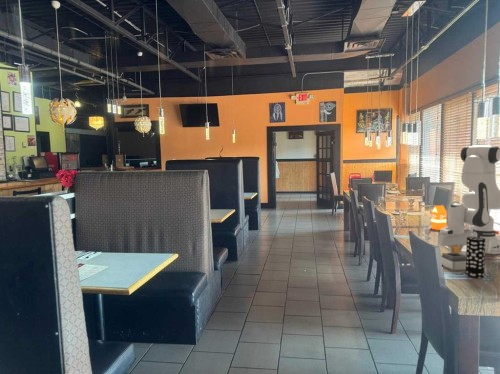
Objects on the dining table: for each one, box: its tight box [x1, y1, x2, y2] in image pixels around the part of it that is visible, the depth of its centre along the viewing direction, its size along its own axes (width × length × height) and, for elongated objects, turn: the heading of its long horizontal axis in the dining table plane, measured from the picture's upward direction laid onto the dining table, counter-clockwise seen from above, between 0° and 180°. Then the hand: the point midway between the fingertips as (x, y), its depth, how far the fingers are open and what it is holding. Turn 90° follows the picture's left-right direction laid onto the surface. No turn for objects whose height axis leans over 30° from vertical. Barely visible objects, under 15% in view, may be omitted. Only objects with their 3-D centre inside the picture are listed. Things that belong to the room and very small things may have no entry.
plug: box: [451, 245, 462, 254], centre depth 230 cm, size 4×4×7 cm
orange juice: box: [430, 204, 448, 231], centre depth 320 cm, size 8×9×20 cm
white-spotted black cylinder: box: [465, 236, 486, 279], centre depth 197 cm, size 8×8×20 cm
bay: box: [440, 252, 466, 272], centre depth 215 cm, size 18×14×7 cm
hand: (455, 252), depth 230 cm, fingers closed on plug, 4 cm apart
